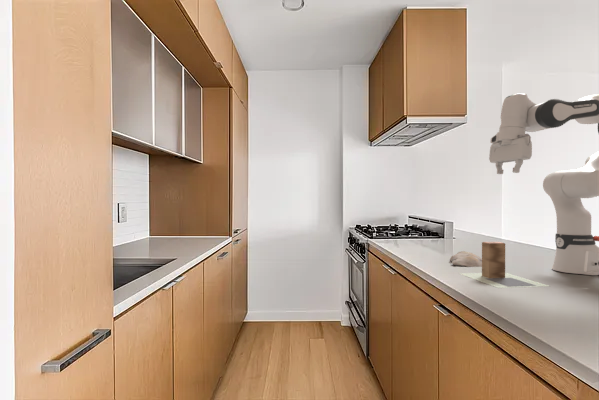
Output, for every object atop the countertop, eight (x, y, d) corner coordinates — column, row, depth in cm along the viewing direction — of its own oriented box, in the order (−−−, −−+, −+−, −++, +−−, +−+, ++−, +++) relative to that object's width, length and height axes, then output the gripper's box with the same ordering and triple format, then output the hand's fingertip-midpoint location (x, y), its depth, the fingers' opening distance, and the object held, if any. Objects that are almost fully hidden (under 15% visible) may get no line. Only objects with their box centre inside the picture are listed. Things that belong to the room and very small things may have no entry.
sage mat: (503, 273, 155) (503, 272, 155) (550, 287, 131) (550, 285, 131) (458, 274, 153) (458, 273, 153) (498, 289, 129) (498, 287, 129)
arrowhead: (451, 256, 171) (448, 245, 199) (451, 268, 171) (447, 256, 200) (489, 258, 166) (480, 247, 195) (488, 271, 167) (479, 258, 195)
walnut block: (497, 275, 149) (497, 241, 149) (505, 277, 145) (505, 243, 144) (481, 275, 148) (481, 241, 148) (489, 278, 144) (489, 243, 144)
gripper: (538, 133, 146) (534, 172, 146) (502, 141, 166) (498, 175, 166) (522, 131, 145) (518, 170, 145) (488, 139, 165) (484, 173, 165)
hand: (507, 173), depth 155 cm, fingers open, 8 cm apart
